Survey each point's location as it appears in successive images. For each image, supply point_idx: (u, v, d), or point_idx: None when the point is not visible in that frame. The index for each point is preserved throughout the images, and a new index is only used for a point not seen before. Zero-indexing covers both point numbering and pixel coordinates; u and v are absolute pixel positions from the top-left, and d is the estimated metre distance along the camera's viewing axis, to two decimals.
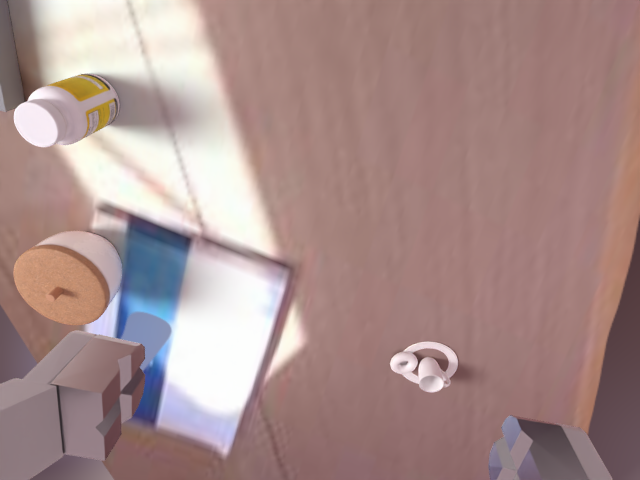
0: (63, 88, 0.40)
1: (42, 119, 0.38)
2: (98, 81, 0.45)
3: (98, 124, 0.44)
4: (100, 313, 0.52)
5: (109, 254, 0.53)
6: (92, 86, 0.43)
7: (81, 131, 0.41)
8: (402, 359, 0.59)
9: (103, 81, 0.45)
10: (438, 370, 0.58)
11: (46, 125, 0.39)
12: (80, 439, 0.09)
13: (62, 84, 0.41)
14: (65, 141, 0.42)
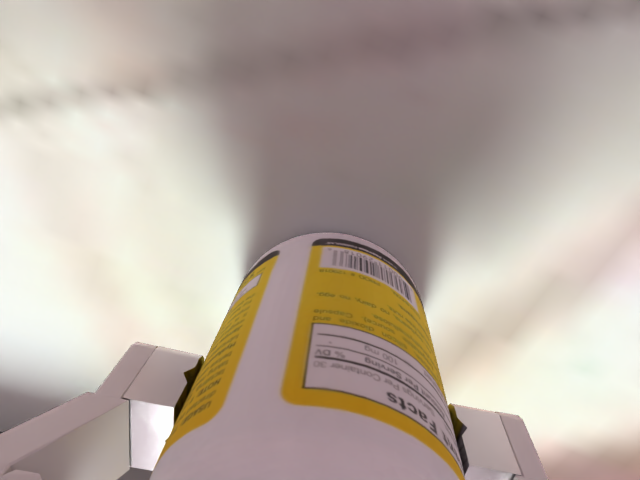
0: (154, 467, 0.07)
1: None
2: (243, 284, 0.11)
3: (393, 342, 0.08)
4: None
5: None
6: (234, 311, 0.10)
7: (398, 474, 0.06)
8: None
9: (252, 268, 0.12)
10: None
11: None
12: (148, 452, 0.09)
13: None
14: None
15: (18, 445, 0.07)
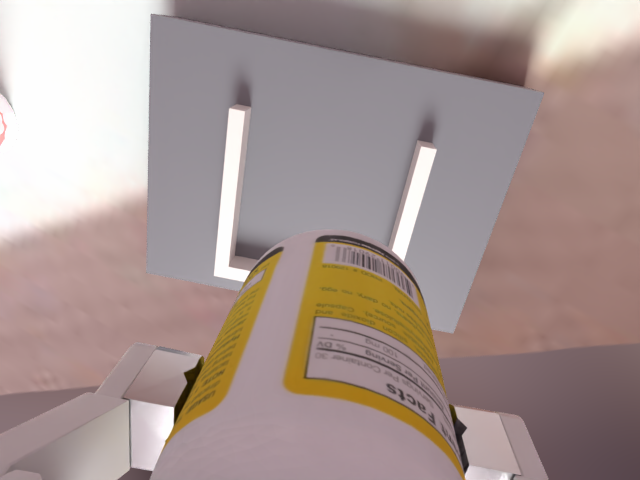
0: (160, 454, 0.07)
1: None
2: (247, 279, 0.12)
3: (393, 336, 0.08)
4: None
5: None
6: (238, 306, 0.10)
7: (396, 461, 0.06)
8: None
9: (257, 264, 0.12)
10: None
11: None
12: (148, 452, 0.09)
13: None
14: None
15: (18, 445, 0.07)
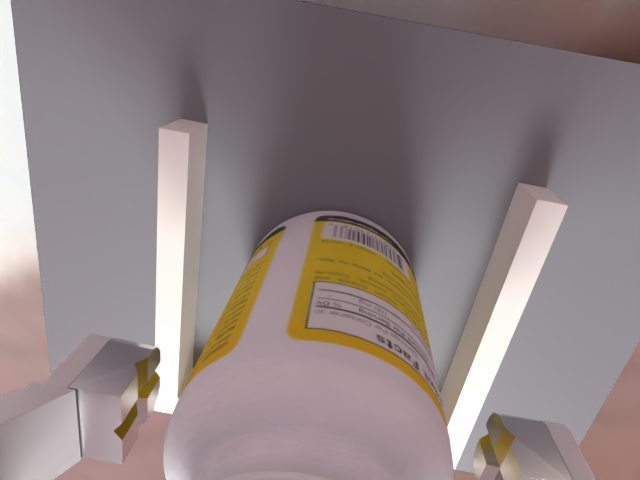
0: (179, 397, 0.08)
1: None
2: (253, 256, 0.13)
3: (384, 299, 0.09)
4: None
5: None
6: (245, 277, 0.11)
7: (383, 393, 0.07)
8: None
9: (261, 242, 0.13)
10: None
11: None
12: (98, 443, 0.09)
13: None
14: None
15: None
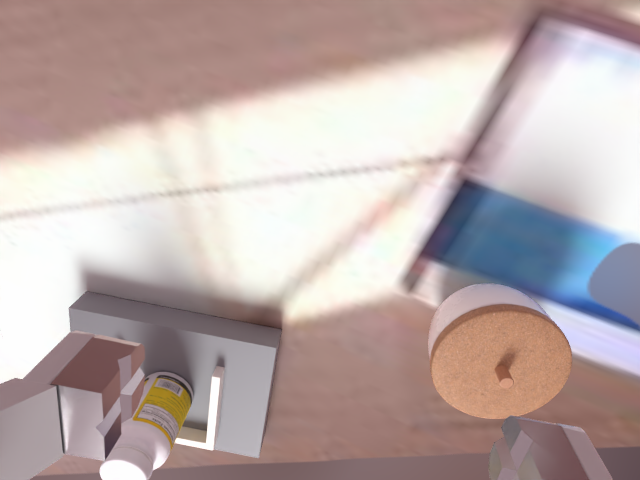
0: None
1: (114, 469, 0.36)
2: None
3: (161, 407, 0.40)
4: (553, 327, 0.33)
5: (466, 292, 0.37)
6: None
7: (147, 431, 0.38)
8: None
9: None
10: None
11: (120, 468, 0.36)
12: (80, 439, 0.09)
13: None
14: (158, 449, 0.38)
15: None
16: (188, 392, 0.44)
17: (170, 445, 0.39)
